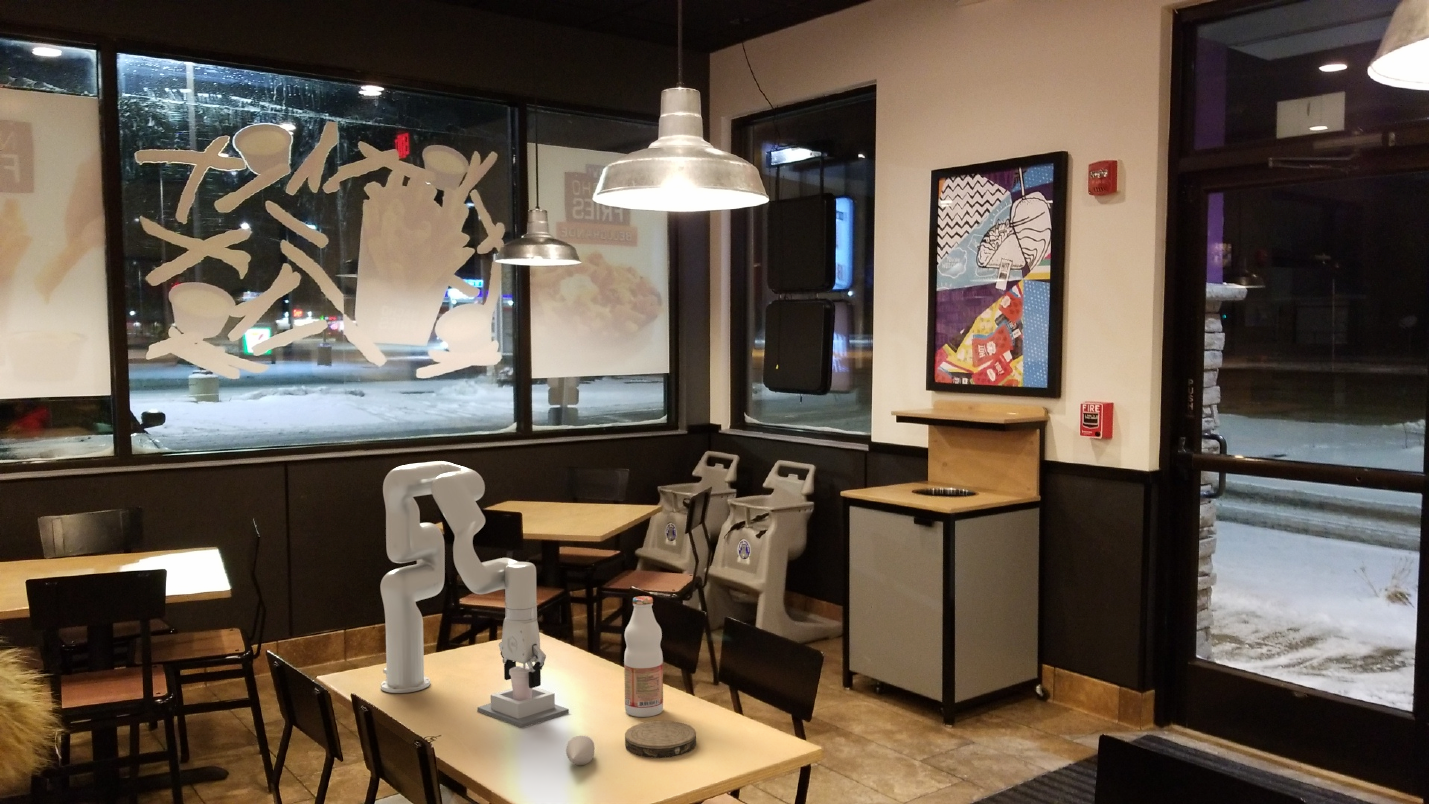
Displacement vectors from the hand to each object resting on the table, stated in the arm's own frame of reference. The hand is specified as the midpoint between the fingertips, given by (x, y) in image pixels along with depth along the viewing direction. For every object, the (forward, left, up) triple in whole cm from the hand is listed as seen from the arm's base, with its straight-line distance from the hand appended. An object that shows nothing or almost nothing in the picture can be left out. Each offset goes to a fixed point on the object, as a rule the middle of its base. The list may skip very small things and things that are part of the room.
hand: (522, 682), depth 262 cm
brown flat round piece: (+41, +7, -8) cm, 42 cm away
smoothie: (0, 0, -6) cm, 7 cm away
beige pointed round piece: (+37, -13, -8) cm, 40 cm away
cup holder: (0, 0, -7) cm, 7 cm away
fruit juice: (+22, +20, -7) cm, 31 cm away
